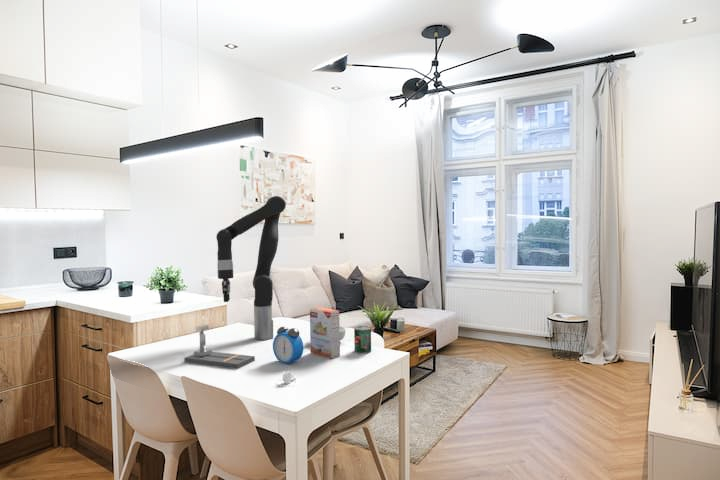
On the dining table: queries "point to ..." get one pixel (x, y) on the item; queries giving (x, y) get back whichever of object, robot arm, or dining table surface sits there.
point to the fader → (202, 341)
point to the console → (221, 360)
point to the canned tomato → (362, 339)
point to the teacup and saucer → (288, 379)
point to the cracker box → (325, 332)
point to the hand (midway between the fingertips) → (226, 301)
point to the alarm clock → (287, 345)
